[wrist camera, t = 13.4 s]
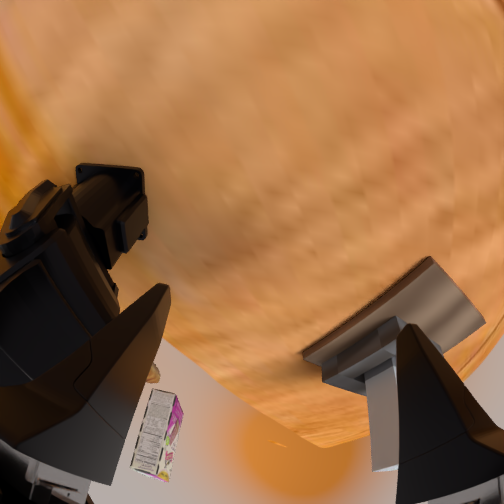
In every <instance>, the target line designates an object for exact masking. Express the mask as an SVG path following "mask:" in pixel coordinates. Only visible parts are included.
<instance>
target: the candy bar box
mask: <svg viewBox="0 0 504 504" xmlns="http://www.w3.org/2000/svg"><path fill="white" fill-rule="evenodd" d="M182 418H183V411H182V409H181V406H180V403H179V401H178V398H177V396H176V394H174V393H171V392H166V391H162V390H157V389H152V391H151V395H150V398H149V401H148V404H147V407H146V411H145V414H144V418H143V421H142V425H141V428H140V432H139V435H138V439H137V442H136V446H135V450H134V454H133V458H132V461H131V465H130V468H131V469H133V470H135V471H137V472H139V473H141V474H142V475H144V476H147V477H150V478H153V479H157V480H161V481H164V482H169V479H170V473H171V469H172V464H173V460H174V455H175V450H176V445H177V441H178V436H179V431H180V427H181V423H182Z"/></svg>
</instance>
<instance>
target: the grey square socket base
mask: <svg viewBox="0 0 504 504" xmlns="http://www.w3.org/2000/svg"><path fill="white" fill-rule="evenodd" d="M408 323H413V324H417V325H418V326H419V327H420V329H421V330H422V331H423V332H424V333H425V335H426V336H427V337H428V338H429V339H430V341H431V342H432V343H433V344H434V346H435V347H436V348H437V349H438V351H439V352H440V353H441V354H442V356H443V354H444V353H445V352H447V351H448V350H450V349H451V348H453V347H454V346H455V345H457V344H458V343H460V342H461V341H463V340H464V339H465V338H467V337H468V336H469V335H471V334H472V333H474V332H475V331H476V330H477V329H479V328H480V327H481V326H483V325H484V324H485V323H486V322H485V320H484V317H483V316H482V315H481V313H480V312H479V311H478V310H477V308H476V307H475V306H474V305H473V303H472V302H471V301H470V300H469V299H468V297H467V296H466V295H465V294H464V293H463V291H462V290H461V289H460V288H459V287H458V286H457V285H456V283H455V282H454V281H453V280H452V279H451V278H450V277H449V275H448V274H447V273H446V272H445V271H444V270H443V269H442V268H441V267H440V266H439V265H438V263H437V262H436V261H435V260H434V259H433V258H432V257H431V256H430V257H429V258H427V259H426V260H425V261H424V262H423V263H422V264H421V265H419V266H418V267H417V268H416V269H415V270H414V271H412V272H411V273H410V274H409V275H408V276H407V277H405V278H404V279H403V280H402V281H401V282H399V283H398V284H397V285H396V286H394V287H393V288H392V289H391V290H389V291H388V292H387V293H386V294H384V295H383V296H382V297H381V298H379V299H378V300H377V301H375V302H374V303H373V304H371V305H370V306H369V307H368V308H366V309H365V310H363V311H362V312H361V313H359V314H358V315H357V316H355V317H354V318H353V319H351V320H350V321H348V322H347V323H346V324H344V325H343V326H341V327H340V328H339V329H337V330H336V331H334V332H333V333H331V334H330V335H328V336H327V337H325V338H324V339H322V340H321V341H319V342H318V343H316V344H315V345H313V346H312V347H310V348H309V349H307V350H306V351H304V352H303V360H306V361H308V362H311V363H313V364H316V365H318V366H321V367H322V382H323V383H326V384H329V385H332V386H335V387H338V388H341V389H344V390H347V391H351V392H354V393H357V394H360V395H364V396H367V394H366V385H365V377H364V373H365V372H367V371H369V370H370V369H372V368H374V367H376V366H377V365H379V364H381V363H383V362H384V361H386V360H388V359H389V358H391V357H393V356H394V355H396V338H397V336H398V334H399V333H400V332H401V330H402V329H403V328H404V326H405V325H406V324H408ZM443 357H444V356H443Z"/></svg>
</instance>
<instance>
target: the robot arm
mask: <svg viewBox="0 0 504 504" xmlns="http://www.w3.org/2000/svg"><path fill="white" fill-rule="evenodd" d="M80 168H81V169H82V171H81V169H80ZM136 173H138V174H139V177H138V176H137V175H136ZM76 177H77V185H75V186H74V187H73V188H72V187H71V185H70V184H67V185H64V186H60V187H57V185H54V184H53V183H52V182H50V181H49V180H48V179H47V180H45V181H42V182H41V183H39V184H38V185H37V186H35V187H34V188H33V189H32V190H30V191H29V192H28V193H27V194H26V195H25V196H24V197H23V198H22V200H20V201H19V203H18V204H17V206H16V207H14V208H13V209H12V210H10V211H9V212H8V214H7V216H6V219H5V221H4V224H3V226H2V229H1V231H0V504H94V503H93V501H92V499H91V498H90V496H89V494H88V490H89V486H90V483H91V481H95V482H98V483H102V484H106V485H109V486H111V484H112V480H113V477H114V474H115V470H116V467H117V464H118V461H119V458H120V455H121V451H122V448H123V445H124V442H125V440H124V439H126V436H127V433H128V430H129V427H130V424H131V421H132V418H133V416H134V413H135V410H136V407H137V404H138V402H139V399H140V396H141V393H142V391H143V388H144V385H145V382H146V380H147V377H148V374H149V372H150V369H151V366H152V364H153V361H154V359H155V356H156V353H157V351H158V348H159V346H160V343H161V339H162V336H163V332H164V328H165V324H166V321H167V317H168V313H169V310H170V306H171V294H170V286H169V285H167V284H162V283H158V284H156V285H155V286H154V287H152V288H151V289H150V290H149V291H147V292H146V293H145V294H144V295H142V296H141V297H140V298H139V299H137V300H136V301H135V302H134V303H132V304H131V305H130V306H129V307H128V308H126V309H125V310H124V311H123V312H121V313H120V307H119V302H118V299H117V296H118V290H119V289H118V287H117V285H116V283H114V282H113V281H112V279H111V277H110V275H109V273H108V271H107V269H109V270H111V269H112V267H113V266H114V264H115V263H116V261H117V260H118V258H119V257H120V256H121V254H122V253H127V252H129V250H130V249H131V248H132V246H133V245H134V243H135V242H136V240H144V239H145V238H146V237H147V225H148V223H149V221H148V204H147V196H146V195H145V185H144V172H143V170H142V169H141V168H138V167H128V166H117V165H104V164H90V163H80V164H79V165H77V166H76ZM141 233H142V234H143V235H141ZM119 313H120V314H119ZM396 378H397V392H398V412H399V465H398V482H397V494H396V504H416V503H421V502H425V501H428V504H504V430H503V429H501V428H499V427H498V426H497V425H496V424H495V423H494V422H493V421H492V419H491V418H490V417H489V416H488V414H487V413H486V412H485V411H484V410H483V408H482V407H481V406H480V405H479V403H478V402H477V401H476V400H475V398H474V397H473V396H472V394H471V393H470V392H469V390H468V389H467V387H466V386H464V383H463V382H462V381H461V379H460V378H459V377H458V375H457V374H456V373H455V371H454V370H453V369H452V367H451V366H450V365H449V363H448V362H447V361H446V360H445V358H444V357H443V356H442V354H441V353H440V352H439V351H438V349H437V348H436V347H435V346H434V344H433V343H432V342H431V341H430V339H429V338H428V337H427V336H426V335H425V333H424V332H423V331H422V330H421V329H420V327H419V326H418V325H417V324H413V323H408V324H406V325H405V326H404V328H403V329H402V330H401V332H400V333H399V334H398V336H397V338H396Z"/></svg>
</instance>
